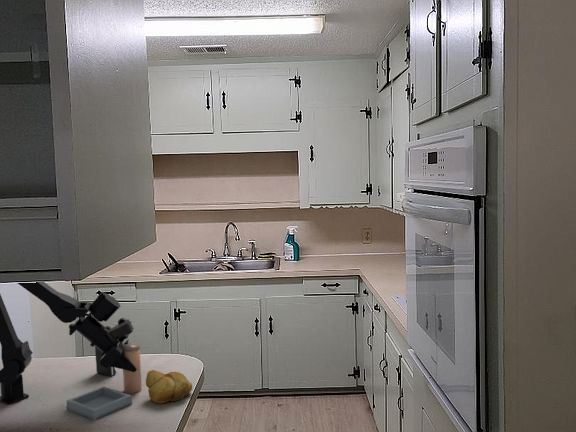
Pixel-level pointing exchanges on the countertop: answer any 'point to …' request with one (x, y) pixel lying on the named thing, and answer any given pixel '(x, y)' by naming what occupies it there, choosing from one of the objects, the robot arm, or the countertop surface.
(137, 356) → the jar
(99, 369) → the battery charger
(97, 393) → the tray
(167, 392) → the bread roll
